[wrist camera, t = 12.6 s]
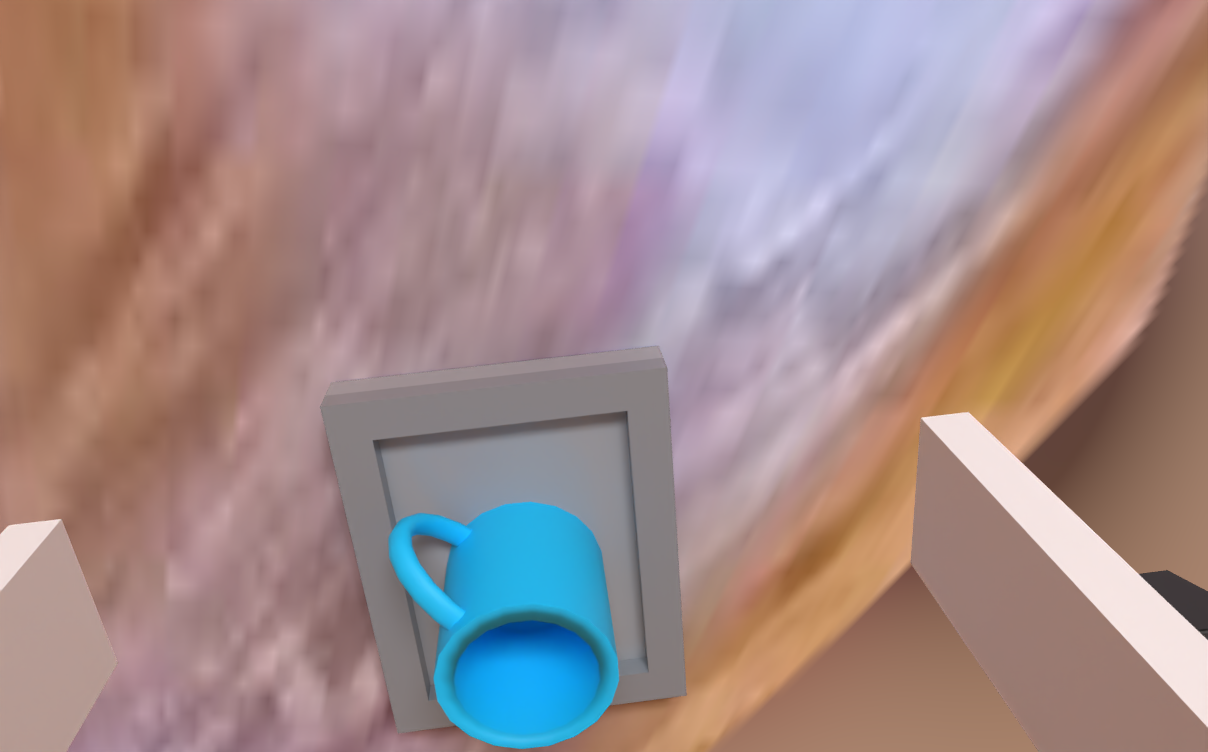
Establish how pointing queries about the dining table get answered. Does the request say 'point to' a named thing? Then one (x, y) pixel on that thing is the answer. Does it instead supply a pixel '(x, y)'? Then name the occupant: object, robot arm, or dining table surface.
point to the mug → (516, 622)
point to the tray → (515, 496)
